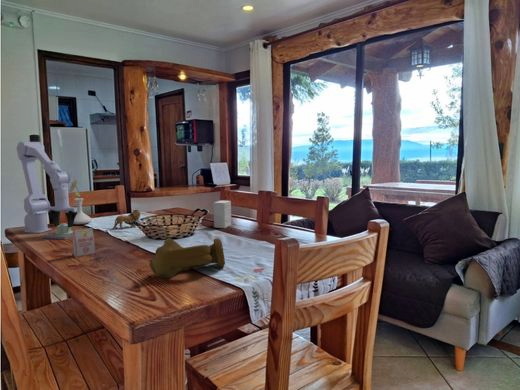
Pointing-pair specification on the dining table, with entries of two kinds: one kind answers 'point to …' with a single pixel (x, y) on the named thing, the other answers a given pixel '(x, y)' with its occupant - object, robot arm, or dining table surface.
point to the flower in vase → (79, 207)
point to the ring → (63, 229)
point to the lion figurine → (128, 219)
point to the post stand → (59, 236)
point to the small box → (222, 214)
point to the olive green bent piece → (185, 257)
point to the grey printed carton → (83, 242)
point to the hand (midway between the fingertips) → (63, 226)
